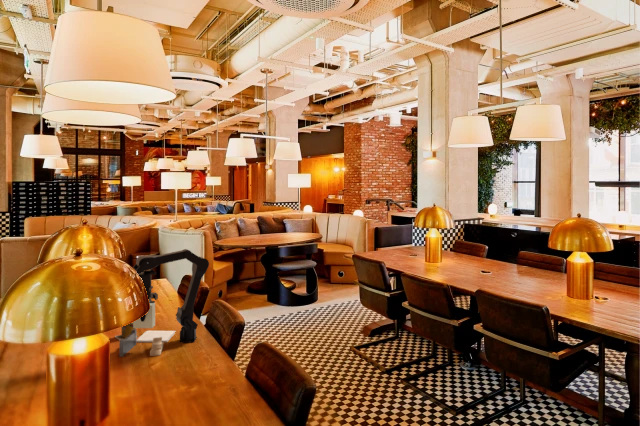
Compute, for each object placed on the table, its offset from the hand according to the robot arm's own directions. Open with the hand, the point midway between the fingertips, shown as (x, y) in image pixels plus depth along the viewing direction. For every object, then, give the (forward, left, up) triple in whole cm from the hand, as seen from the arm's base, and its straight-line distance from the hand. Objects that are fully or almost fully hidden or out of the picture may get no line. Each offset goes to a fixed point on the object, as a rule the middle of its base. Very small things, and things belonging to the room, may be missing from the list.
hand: (144, 319), depth 184 cm
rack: (+6, +3, -13) cm, 14 cm away
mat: (-1, -14, -13) cm, 19 cm away
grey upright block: (0, 0, -3) cm, 3 cm away
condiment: (+13, -14, -13) cm, 23 cm away
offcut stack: (-7, +4, -13) cm, 15 cm away
